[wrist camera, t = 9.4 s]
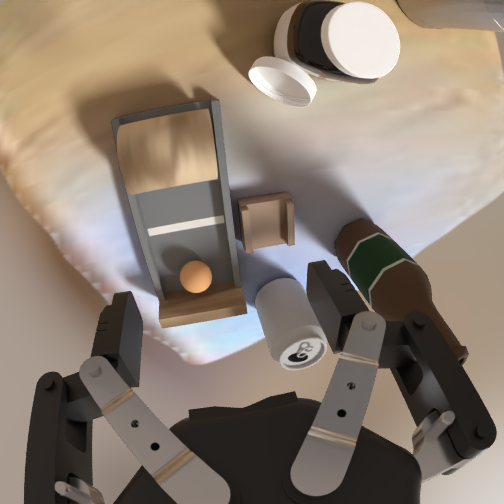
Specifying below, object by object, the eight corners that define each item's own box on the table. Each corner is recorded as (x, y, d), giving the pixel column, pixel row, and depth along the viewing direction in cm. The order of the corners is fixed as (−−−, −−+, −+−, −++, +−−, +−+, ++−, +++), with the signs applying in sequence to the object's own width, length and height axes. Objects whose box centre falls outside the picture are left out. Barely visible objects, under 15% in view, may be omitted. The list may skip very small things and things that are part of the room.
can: (245, 307, 46) (263, 372, 36) (268, 268, 43) (294, 331, 33) (286, 317, 49) (311, 376, 39) (311, 281, 46) (344, 339, 36)
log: (126, 120, 28) (112, 131, 22) (205, 105, 29) (210, 112, 23) (139, 181, 32) (129, 206, 26) (213, 167, 33) (220, 189, 27)
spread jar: (355, 30, 27) (419, 23, 18) (339, 115, 33) (397, 137, 23) (255, 2, 24) (290, -29, 15) (239, 97, 30) (265, 107, 20)
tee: (237, 199, 36) (241, 209, 34) (286, 191, 37) (294, 201, 35) (241, 242, 40) (246, 255, 37) (287, 234, 40) (294, 246, 38)
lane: (115, 118, 28) (111, 121, 26) (217, 99, 30) (219, 100, 28) (159, 291, 41) (159, 301, 39) (238, 277, 42) (241, 287, 41)
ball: (175, 256, 37) (181, 275, 40) (178, 283, 35) (184, 301, 38) (208, 251, 38) (211, 270, 41) (212, 277, 35) (215, 296, 38)
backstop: (159, 291, 41) (158, 319, 36) (238, 277, 42) (246, 304, 38) (162, 299, 42) (162, 328, 37) (239, 286, 43) (247, 313, 39)
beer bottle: (348, 271, 46) (433, 397, 26) (322, 243, 42) (417, 383, 22) (386, 238, 44) (487, 351, 24) (363, 206, 40) (483, 325, 21)
